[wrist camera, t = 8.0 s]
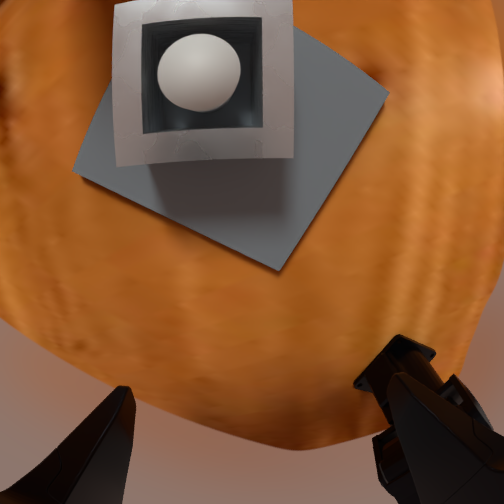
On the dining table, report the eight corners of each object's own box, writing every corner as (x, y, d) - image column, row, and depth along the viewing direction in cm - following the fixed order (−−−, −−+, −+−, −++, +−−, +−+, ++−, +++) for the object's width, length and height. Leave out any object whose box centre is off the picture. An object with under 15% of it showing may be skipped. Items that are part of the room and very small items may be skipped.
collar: (273, 146, 17) (293, 158, 12) (144, 152, 16) (116, 167, 11) (272, 25, 14) (292, -6, 9) (142, 32, 13) (114, 4, 9)
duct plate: (382, 93, 17) (446, 90, 11) (276, 264, 21) (298, 324, 15) (180, -20, 13) (164, -73, 7) (78, 168, 17) (22, 195, 11)
